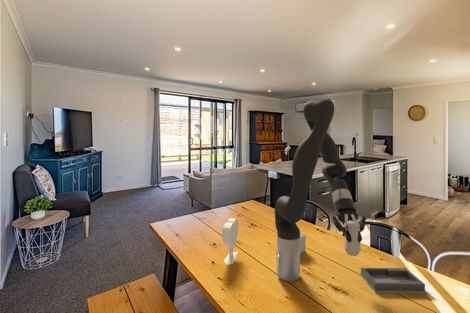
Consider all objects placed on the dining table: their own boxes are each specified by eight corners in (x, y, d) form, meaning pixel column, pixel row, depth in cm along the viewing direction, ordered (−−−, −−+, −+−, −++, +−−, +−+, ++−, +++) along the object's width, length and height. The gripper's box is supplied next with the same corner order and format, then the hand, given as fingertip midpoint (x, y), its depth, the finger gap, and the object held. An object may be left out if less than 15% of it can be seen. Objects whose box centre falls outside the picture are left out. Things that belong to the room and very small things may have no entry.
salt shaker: (346, 248, 100) (347, 217, 99) (361, 253, 96) (363, 220, 95) (342, 254, 96) (343, 221, 94) (358, 258, 92) (359, 225, 91)
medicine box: (297, 248, 127) (298, 232, 126) (305, 251, 124) (305, 234, 123) (289, 254, 121) (289, 237, 121) (297, 257, 118) (297, 239, 117)
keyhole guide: (375, 292, 91) (375, 284, 90) (360, 274, 103) (360, 267, 102) (425, 293, 90) (426, 285, 89) (404, 275, 102) (404, 267, 101)
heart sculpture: (230, 249, 127) (230, 215, 126) (240, 250, 126) (239, 216, 124) (221, 264, 112) (220, 226, 111) (231, 266, 111) (231, 227, 109)
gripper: (328, 197, 102) (339, 237, 91) (363, 197, 101) (377, 238, 90) (324, 206, 108) (333, 245, 97) (356, 206, 107) (369, 245, 96)
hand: (354, 241), depth 93 cm, fingers closed on salt shaker, 3 cm apart
